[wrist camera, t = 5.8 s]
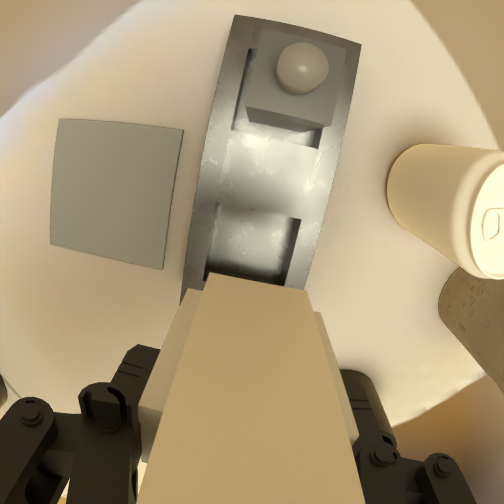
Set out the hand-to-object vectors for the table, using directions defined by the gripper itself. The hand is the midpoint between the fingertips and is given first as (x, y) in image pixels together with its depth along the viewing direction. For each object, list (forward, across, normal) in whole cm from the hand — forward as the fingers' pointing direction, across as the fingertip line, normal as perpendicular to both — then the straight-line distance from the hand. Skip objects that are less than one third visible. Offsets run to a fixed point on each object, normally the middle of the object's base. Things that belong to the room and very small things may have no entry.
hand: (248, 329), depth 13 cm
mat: (+14, -13, +1) cm, 19 cm away
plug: (0, 0, 0) cm, 0 cm away
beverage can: (+15, +14, +7) cm, 21 cm away
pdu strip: (+14, 0, +5) cm, 15 cm away
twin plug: (+13, 0, +11) cm, 17 cm away
